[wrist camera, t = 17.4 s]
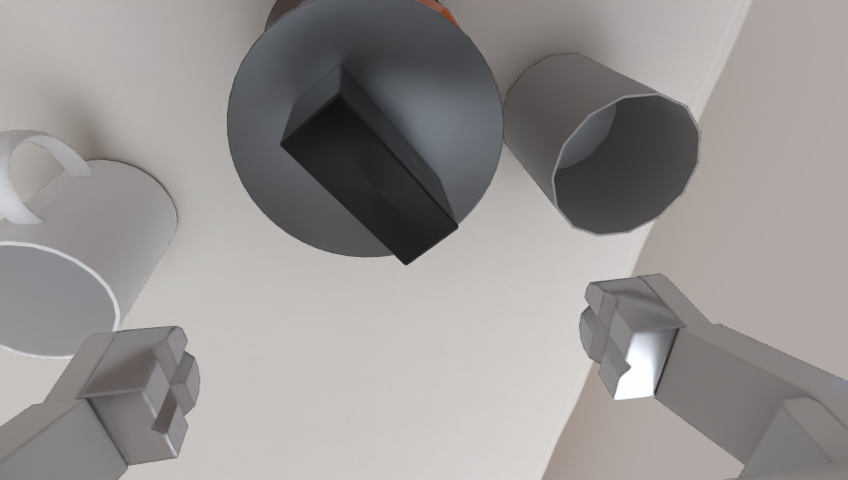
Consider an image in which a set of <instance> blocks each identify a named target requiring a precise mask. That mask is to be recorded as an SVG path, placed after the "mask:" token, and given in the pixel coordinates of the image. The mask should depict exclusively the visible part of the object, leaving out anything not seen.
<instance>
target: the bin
mask: <svg viewBox="0 0 848 480" xmlns="http://www.w3.org/2000/svg"><path fill="white" fill-rule="evenodd" d="M503 127H504V119H503V110H502V103H501V99H500V95H499V91H498V87H497V84H496V82H495V79H494V77H493V74H492V72H491V69H490V67H489V66H488V64H487V62H486V60H485V59H484V57H483V55H482V54H481V52H480V51H479V50H478V48H477V47H476V46H475V44H474V43H473V42H472V41H471V39H470V38H469V37H468V36H467V35H466V34H465V33H464V32H463V31H462V30H461V28H460V27H459V25H458V24H457V22H456V21H455V19H454V18H453V16H452V15H451V14H450V12H449V11H448V9H447V8H445V7H444V6H442V5H441V4H439V3H438V2H436V1H435V0H303V1H302V2H301V3H300V4H299V5H298V6H297V7H295V8H294V9H292V10H290V11H289V12H287V13H285V14H284V15H283V16H281V17H280V18H279V19H278V20H277V21H275V22H274V23H273V24H272V25H271V26H269V27H268V28H267V29H266V31H265V32H264V33H263V34H262V35H261V36H260V37H259V38H258V40H257V41H256V42H255V43H254V44H253V45H252V47H251V48H250V50H249V52H248V53H247V55H246V56H245V58H244V59H243V61H242V63H241V65H240V67H239V70H238V72H237V74H236V76H235V78H234V82H233V85H232V89H231V93H230V96H229V103H228V111H227V135H228V141H229V147H230V153H231V156H232V159H233V162H234V166H235V169H236V171H237V173H238V175H239V177H240V180H241V182H242V184H243V186H244V187H245V189H246V190H247V192H248V194H249V195H250V197H251V198H252V200H253V201H254V202H255V203H256V205H257V206H258V207H259V208H260V209H261V211H262V212H263V213H264V214H265V215H266V216H267V217H268V218H269V219H270V220H271V221H273V222H274V223H275V224H276V225H277V226H279V227H280V228H281V229H283V230H284V231H285V232H287V233H288V234H290V235H291V236H293V237H295V238H296V239H298V240H300V241H302V242H304V243H306V244H308V245H311V246H313V247H315V248H318V249H321V250H324V251H327V252H331V253H335V254H340V255H345V256H353V257H382V256H389V255H395V256H396V257H397V258H398V259H399V260H400V261H401V262H402V263H403V264H404V265H408V264H410V263H411V262H412V261H414V260H415V259H417V258H418V257H419V256H421V255H422V254H423V253H425V252H426V251H428V250H429V249H430V248H432V247H433V246H434V245H436V244H437V243H439V242H440V241H441V240H443V239H444V238H446V237H447V236H448V235H450V234H451V233H452V232H454V231H455V230H457V229H458V224H459V223H460V222H461V221H462V220H463V219H464V218H465V217H466V216H467V215H468V214H469V213H470V212H471V211H472V210H473V209H474V207H475V206H476V205H477V203H478V202H479V201H480V200H481V198H482V197H483V195H484V193H485V192H486V190H487V188H488V186H489V185H490V183H491V180H492V178H493V176H494V173H495V171H496V168H497V165H498V161H499V158H500V155H501V149H502V142H503Z"/></svg>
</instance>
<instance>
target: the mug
mask: <svg viewBox="0 0 848 480" xmlns="http://www.w3.org/2000/svg"><path fill="white" fill-rule="evenodd" d="M24 142H31V143H33V144H36V145H38V146H40V147H41V148H43V149H44V150H46V151H47V152H48V153H49V154H50V155H52V156H53V157H54V158H55V159H56V160H57V161H58V162H59V163H60V164H61V165H62V166H63V167H64V169H65V171H63V172H62V173H61V174H60V175H58V176H57V177H56V178H55V179H53V180H52V181H51V182H50V183H48V184H47V185H46V186H45V187H43V188H42V189H41V190H40V191H38V192H37V193H36V194H34V195H33V196H32V197H31V198H29V199H28V200H27V201H26V202H24V203H22V202H21V200H20V199H19V198H18V196H17V195H16V193H15V191H14V189H13V187H12V184H11V182H10V177H9V172H8V167H9V158H10V156H11V153H12V151H13V150H14V149H15V148H16V147H17V146H18V145H19V144H21V143H24ZM0 215H1V216H3V217H4V219H3V220H2V221H1V222H0V348H3V349H6V350H9V351H12V352H14V353H17V354H21V355H26V356H31V357H36V358H45V359H66V358H73V357H74V355H75V354H76V352H77V351H78V349H79V348H80V347H81V345H82V344H83V342H84V341H85V339H86V338H87V337H88V336H90V335H92V334H94V333H101V332H112V331H117V330H118V329H119V327H120V325H121V324H122V322H123V320H124V319H125V317H126V315H127V314H128V312H129V310H130V309H131V307H132V305H133V304H134V302H135V300H136V299H137V297H138V295H139V294H140V292H141V290H142V289H143V287H144V285H145V284H146V282H147V280H148V279H149V277H150V275H151V274H152V272H153V270H154V269H155V267H156V265H157V264H158V262H159V260H160V259H161V257H162V255H163V254H164V252H165V250H166V249H167V247H168V245H169V244H170V242H171V240H172V239H173V237H174V234H175V231H176V227H177V217H176V210H175V208H174V205H173V203H172V200H171V198H170V197H169V195H168V194H167V192H166V191H165V190H164V188H163V187H162V186H161V185H160V184H159V183H158V182H157V181H155V180H154V179H153V178H152V177H151V176H150V175H148V174H146V173H144V172H142V171H141V170H139V169H137V168H135V167H133V166H130V165H127V164H124V163H121V162H116V161H108V160H92V161H84V160H83V159H82V158H81V156H80V155H79V154H78V153H77V152H75V151H74V150H73V149H72V148H71V147H70V146H69V145H67V144H66V143H65V142H63V141H62V140H60V139H59V138H57V137H55V136H52V135H50V134H48V133H46V132H44V131H36V130H10V131H4V132H1V133H0Z"/></svg>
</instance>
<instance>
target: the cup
mask: <svg viewBox="0 0 848 480" xmlns="http://www.w3.org/2000/svg"><path fill="white" fill-rule="evenodd" d="M503 119H504V127H503V135H504V140H505V144H506V145H507V146H508V148H509V149H510V150H511V152H512V153H513V154H514V155H515V157H516V158H517V159H518V160H519V162H520V163H521V164H522V166H523V167H524V168H525V169H526V171H527V172H528V173H529V175H530V176H531V177H532V178H533V180H534V181H535V182H536V183H537V185H538V186H539V187H540V189H541V190H542V191H543V192H544V194H545V195H546V196H547V197H548V199H549V200H550V201H551V203H552V204H553V205H554V206H555V208H556V209H557V210H558V211H559V212H560V214H561V215H562V216H563V217H564V218H565V220H566V221H567V222H568V223H569V224H570V225H571V227H572V228H575V229H578V230H581V231H584V232H587V233H590V234H593V235H596V236H606V235H615V234H624V233H630V232H632V231H634V230H636V229H638V228H640V227H642V226H644V225H646V224H648V223H650V222H652V221H654V220H656V219H658V218H659V217H660V216H661V215H662V214H663V213H664V212H665V211H666V210H667V209H668V208H669V207H670V206H671V205H672V204H673V203H675V202H676V201H677V200H678V199H679V197H681V196H682V195H683V193H684V192H685V190H686V188H687V186H688V184H689V182H690V180H691V178H692V176H693V174H694V172H695V170H696V168H697V166H698V164H699V159H700V157H699V156H700V141H701V130H700V128H699V127H698V125H697V123H696V121H695V119H694V117H693V115H692V113H691V112H690V110H689V108H688V106H687V105H685V104H683V103H680V102H678V101H676V100H674V99H672V98H670V97H668V96H666V95H664V94H662V93H660V92H658V91H655V90H653V89H651V88H649V87H647V86H645V85H643V84H641V83H639V82H637V81H635V80H633V79H630V78H628V77H626V76H624V75H622V74H620V73H618V72H616V71H614V70H612V69H610V68H607V67H605V66H603V65H601V64H599V63H597V62H595V61H593V60H591V59H589V58H587V57H584V56H582V55H580V54H578V53H574V54H561V55H550V56H549V57H547V58H545V59H544V60H542V61H540V62H538V63H537V64H535V65H533V66H531V67H530V68H528V69H526V70H525V71H524V72H523V74H522V75H521V76H520V78H519V79H518V80H517V82H516V83H515V84H514V86H513V87H512V88H511V89H510V91H509V92H508V94H507V97H506V101H505V105H504V109H503Z"/></svg>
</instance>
